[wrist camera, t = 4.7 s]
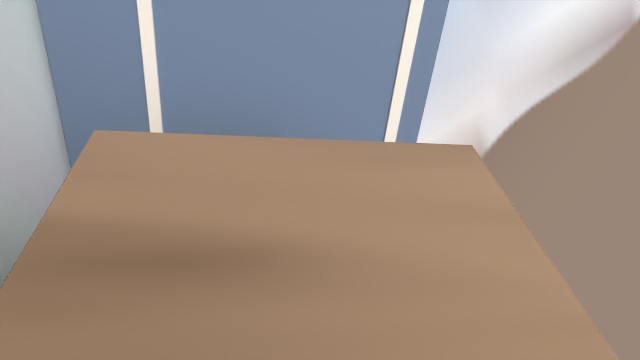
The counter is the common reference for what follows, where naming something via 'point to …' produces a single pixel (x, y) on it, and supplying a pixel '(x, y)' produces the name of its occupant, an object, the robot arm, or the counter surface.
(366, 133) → the board
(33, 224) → the counter surface
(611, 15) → the counter surface
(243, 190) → the walnut block
